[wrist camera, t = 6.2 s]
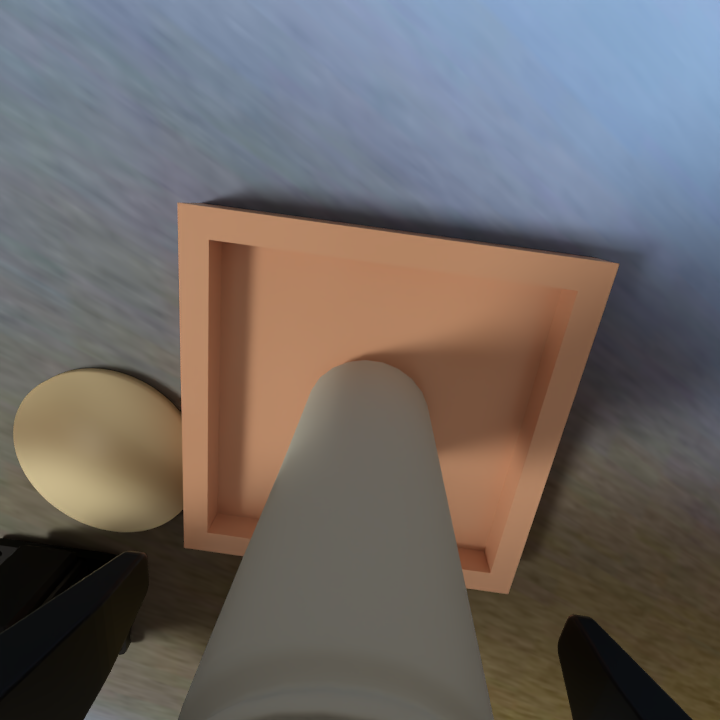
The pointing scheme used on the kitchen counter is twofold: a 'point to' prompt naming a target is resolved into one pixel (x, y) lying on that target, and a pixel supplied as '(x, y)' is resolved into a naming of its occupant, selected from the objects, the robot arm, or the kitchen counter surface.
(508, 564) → the tray
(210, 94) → the kitchen counter surface
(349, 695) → the beverage can
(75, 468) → the cork coaster
